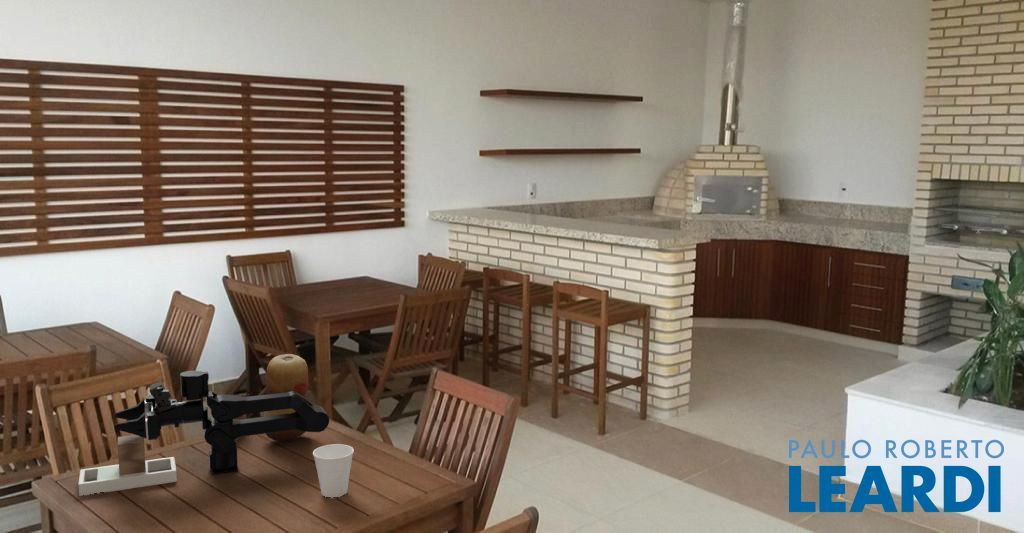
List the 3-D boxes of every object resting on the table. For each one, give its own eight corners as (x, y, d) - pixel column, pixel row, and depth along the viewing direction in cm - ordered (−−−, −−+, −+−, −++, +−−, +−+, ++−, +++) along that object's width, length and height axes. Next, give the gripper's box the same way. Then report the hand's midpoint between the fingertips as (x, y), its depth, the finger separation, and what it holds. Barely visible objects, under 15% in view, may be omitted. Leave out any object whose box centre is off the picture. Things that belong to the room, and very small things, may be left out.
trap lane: (174, 467, 219) (174, 456, 218) (176, 481, 210) (176, 470, 209) (81, 480, 209) (80, 469, 209) (79, 496, 200) (78, 484, 200)
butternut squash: (286, 452, 230) (283, 365, 226) (253, 442, 237) (250, 358, 233) (322, 437, 242) (320, 354, 238) (289, 428, 249) (287, 348, 245)
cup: (319, 505, 197) (318, 461, 195) (309, 489, 206) (308, 447, 204) (359, 497, 201) (359, 454, 200) (348, 482, 210) (347, 441, 208)
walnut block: (145, 463, 213) (143, 433, 212) (145, 471, 208) (144, 441, 207) (119, 466, 211) (117, 437, 210) (119, 475, 206) (117, 444, 204)
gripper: (178, 373, 219) (113, 379, 212) (182, 392, 202) (111, 400, 196) (180, 413, 221) (116, 421, 214) (184, 436, 204) (114, 445, 197)
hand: (114, 421), depth 205 cm, fingers open, 9 cm apart
